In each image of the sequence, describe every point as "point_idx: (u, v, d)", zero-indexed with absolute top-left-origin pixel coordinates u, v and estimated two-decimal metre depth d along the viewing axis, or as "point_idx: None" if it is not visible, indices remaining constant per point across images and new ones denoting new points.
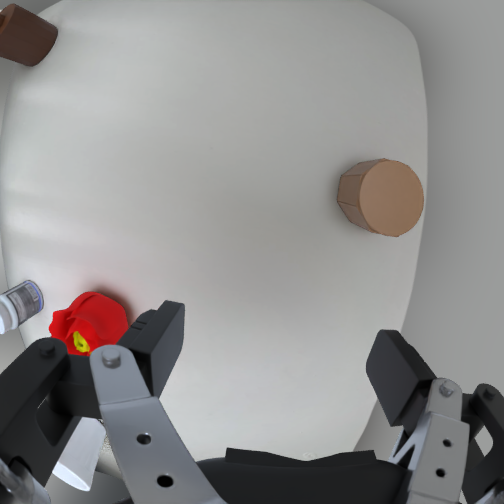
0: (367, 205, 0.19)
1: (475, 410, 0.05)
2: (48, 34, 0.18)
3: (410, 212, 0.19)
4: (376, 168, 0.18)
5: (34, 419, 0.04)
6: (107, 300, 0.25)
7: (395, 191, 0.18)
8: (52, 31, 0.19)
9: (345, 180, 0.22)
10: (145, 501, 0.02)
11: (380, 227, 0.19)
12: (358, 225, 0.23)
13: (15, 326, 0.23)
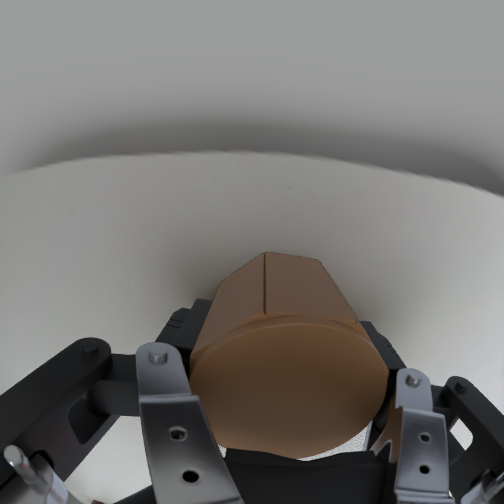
0: (302, 450, 0.07)
1: (446, 403, 0.06)
2: None
3: (332, 366, 0.06)
4: (216, 438, 0.07)
5: (65, 417, 0.04)
6: None
7: (268, 407, 0.07)
8: None
9: None
10: (166, 493, 0.03)
11: (356, 425, 0.07)
12: None
13: None
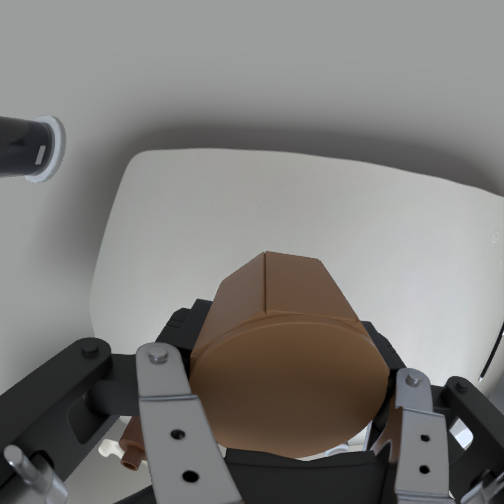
0: (303, 449, 0.07)
1: (446, 403, 0.06)
2: None
3: (332, 365, 0.06)
4: (217, 438, 0.07)
5: (66, 417, 0.04)
6: None
7: (269, 406, 0.07)
8: None
9: None
10: (166, 493, 0.03)
11: (357, 425, 0.07)
12: None
13: (347, 446, 0.38)
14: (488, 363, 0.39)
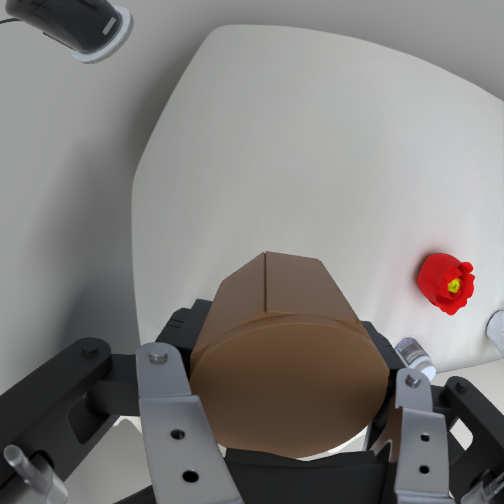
0: (303, 449, 0.07)
1: (446, 403, 0.06)
2: None
3: (332, 365, 0.06)
4: (217, 438, 0.07)
5: (66, 417, 0.04)
6: (425, 265, 0.34)
7: (269, 406, 0.07)
8: None
9: None
10: (166, 493, 0.03)
11: (357, 425, 0.07)
12: None
13: None
14: None
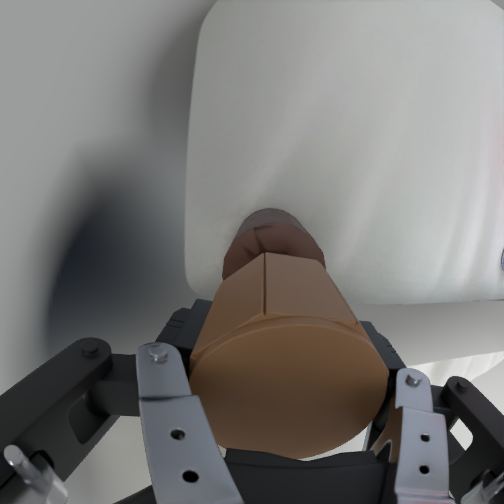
0: (302, 451, 0.07)
1: (446, 403, 0.06)
2: (275, 210, 0.25)
3: (332, 367, 0.06)
4: (216, 439, 0.07)
5: (66, 417, 0.04)
6: None
7: (268, 408, 0.07)
8: (266, 209, 0.26)
9: None
10: (166, 493, 0.03)
11: (356, 426, 0.07)
12: None
13: None
14: None
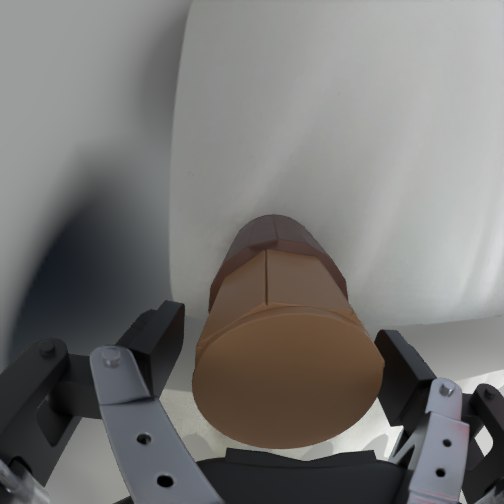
0: (302, 439, 0.08)
1: (475, 410, 0.05)
2: (279, 217, 0.20)
3: (330, 354, 0.07)
4: (220, 427, 0.08)
5: (34, 419, 0.04)
6: None
7: (270, 395, 0.07)
8: (267, 216, 0.21)
9: None
10: (145, 501, 0.02)
11: (354, 414, 0.07)
12: None
13: None
14: None
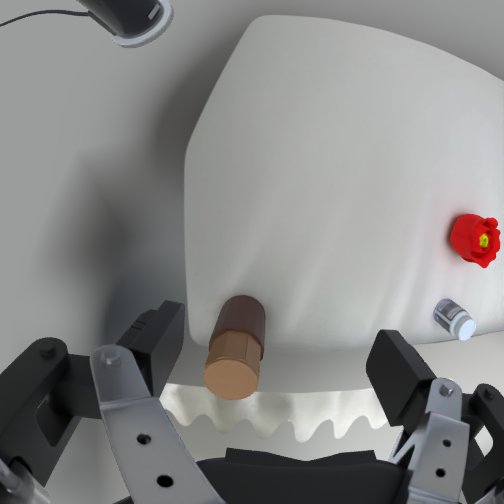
0: (237, 396, 0.27)
1: (475, 410, 0.05)
2: (243, 300, 0.40)
3: (238, 370, 0.26)
4: (212, 390, 0.27)
5: (34, 419, 0.04)
6: (457, 224, 0.34)
7: (224, 380, 0.27)
8: (237, 298, 0.40)
9: None
10: (145, 501, 0.02)
11: (251, 389, 0.27)
12: None
13: (469, 315, 0.34)
14: None
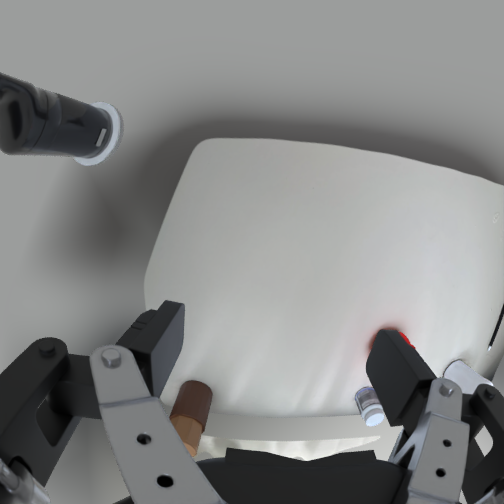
0: None
1: (475, 410, 0.05)
2: (194, 386, 0.49)
3: None
4: None
5: (34, 419, 0.04)
6: None
7: None
8: (191, 384, 0.50)
9: None
10: (145, 501, 0.02)
11: (193, 454, 0.36)
12: (199, 441, 0.40)
13: (381, 406, 0.44)
14: (495, 332, 0.46)
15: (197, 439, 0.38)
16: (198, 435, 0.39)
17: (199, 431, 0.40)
